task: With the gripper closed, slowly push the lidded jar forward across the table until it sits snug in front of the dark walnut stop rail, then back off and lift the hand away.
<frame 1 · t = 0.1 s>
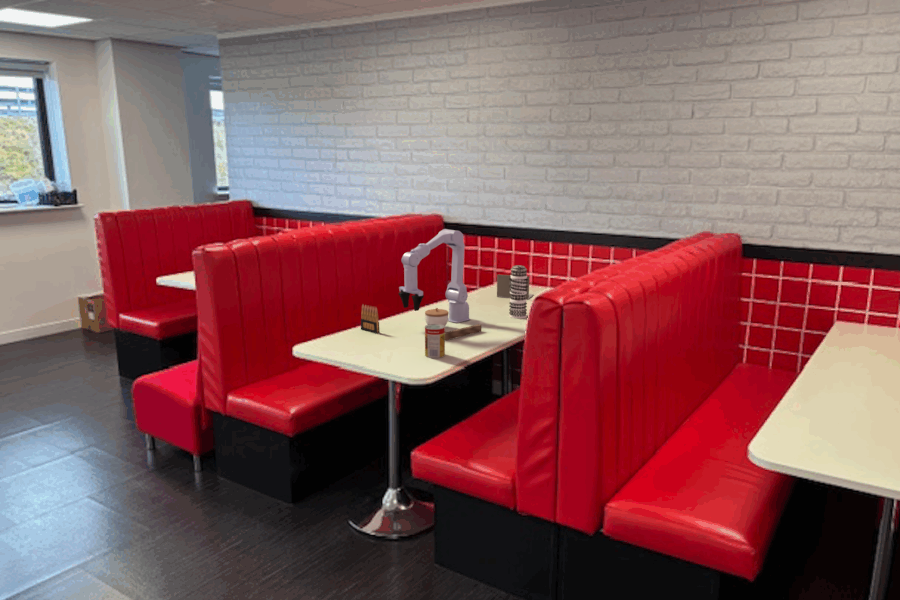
hand: (411, 309, 309), 10 cm above the table, fingers open, 7 cm apart
decorative candle: (517, 316, 338), on the table
ammunition clip: (370, 331, 311), on the table
canned food: (434, 355, 275), on the table
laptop: (515, 297, 382), on the table
walnut stop rail: (462, 335, 304), on the table
lidded jar: (436, 328, 316), on the table
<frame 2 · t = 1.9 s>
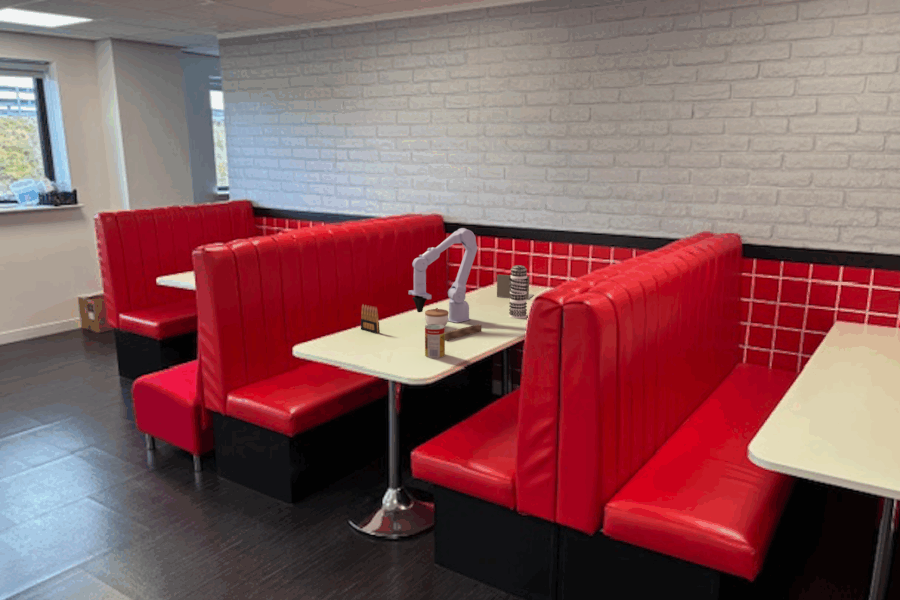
hand: (419, 311, 323), 5 cm above the table, fingers closed
nothing on the table moved.
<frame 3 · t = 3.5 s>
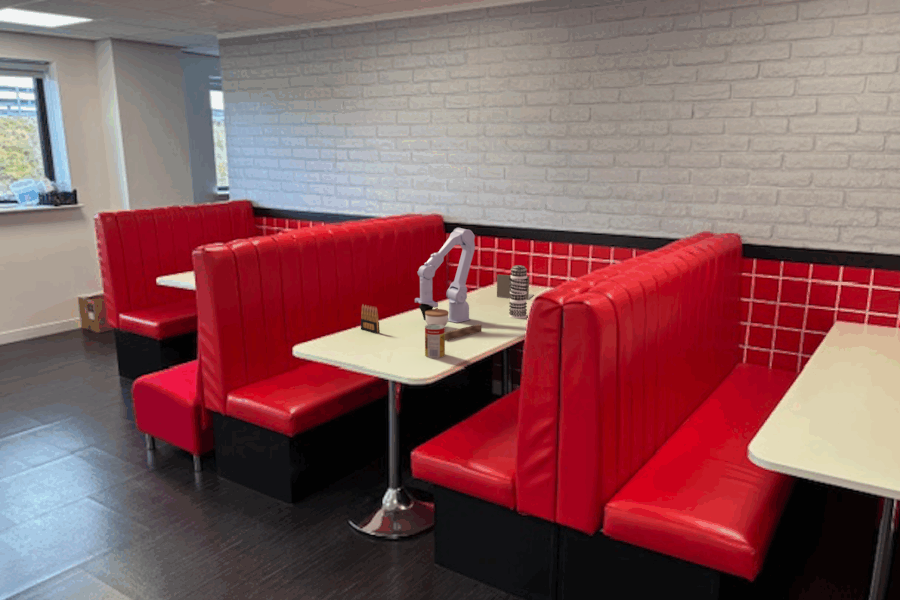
hand: (426, 319, 321), 2 cm above the table, fingers closed
lidded jar: (436, 328, 316), on the table, touching gripper
everything else where it was.
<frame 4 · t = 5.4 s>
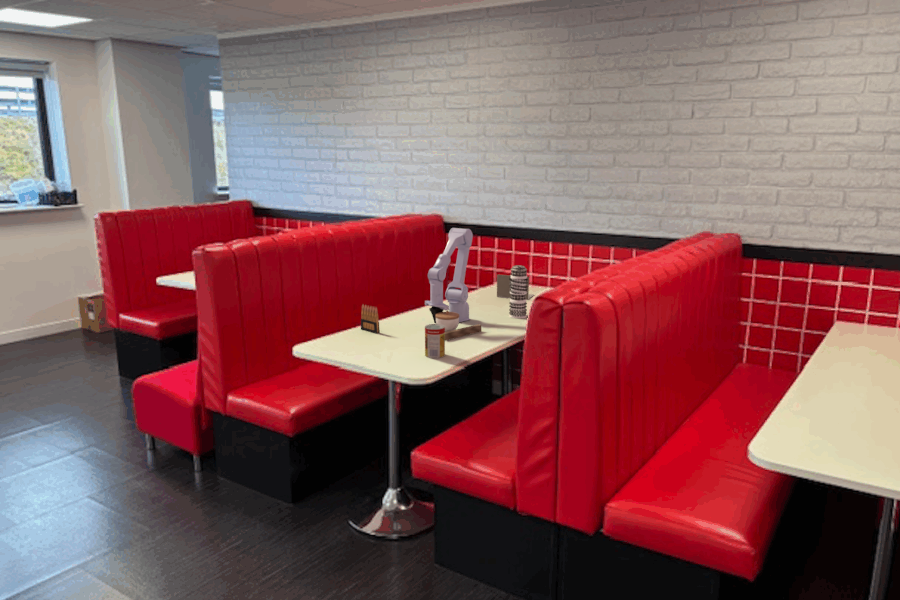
hand: (436, 322, 316), 2 cm above the table, fingers closed
lidded jar: (447, 331, 311), on the table, touching gripper
everything else where it was.
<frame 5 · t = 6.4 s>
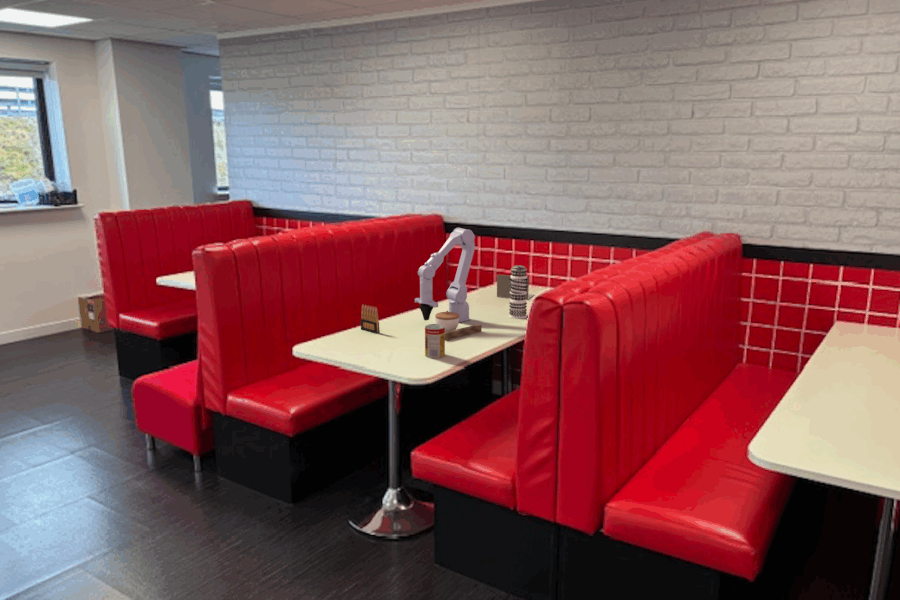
hand: (426, 319, 321), 2 cm above the table, fingers closed
lidded jar: (447, 331, 311), on the table
everything else where it was.
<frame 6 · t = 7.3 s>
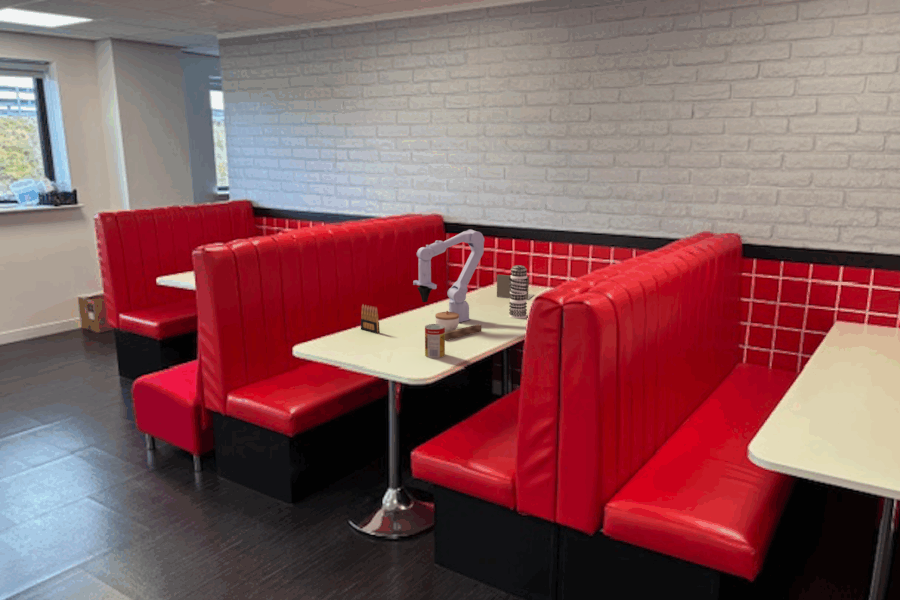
hand: (424, 301, 322), 10 cm above the table, fingers closed
nothing on the table moved.
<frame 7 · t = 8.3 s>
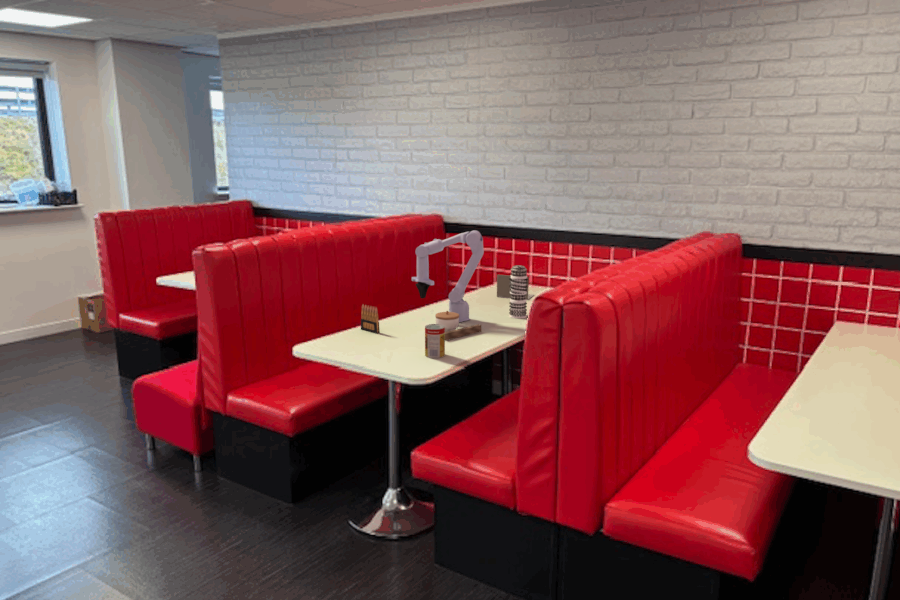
hand: (422, 297, 330), 10 cm above the table, fingers closed
nothing on the table moved.
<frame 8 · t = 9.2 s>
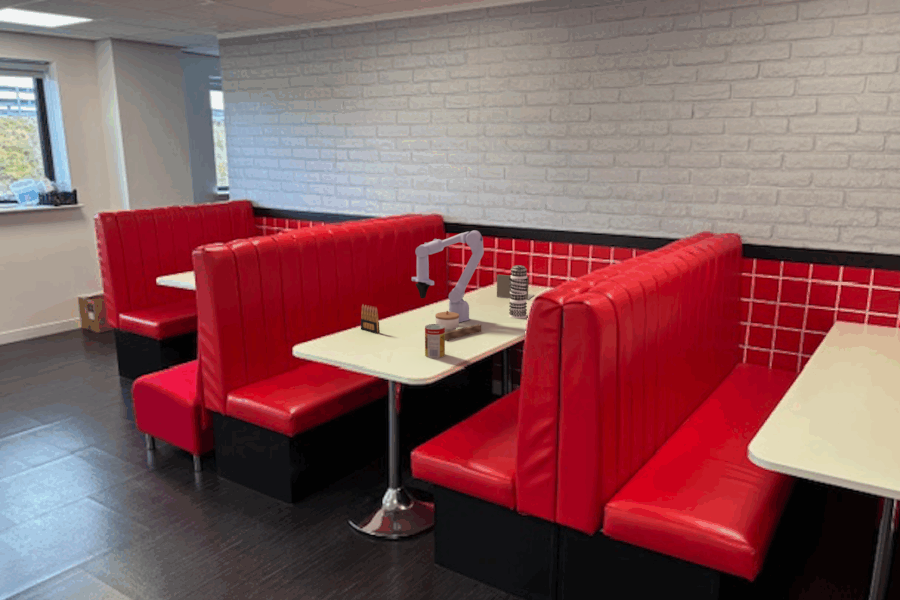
hand: (422, 297, 330), 10 cm above the table, fingers closed
nothing on the table moved.
at the end: lidded jar inside the target area (0.7 cm from its centre), on the table; lidded jar moved 7.3 cm from its start; lidded jar tilted 0° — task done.
